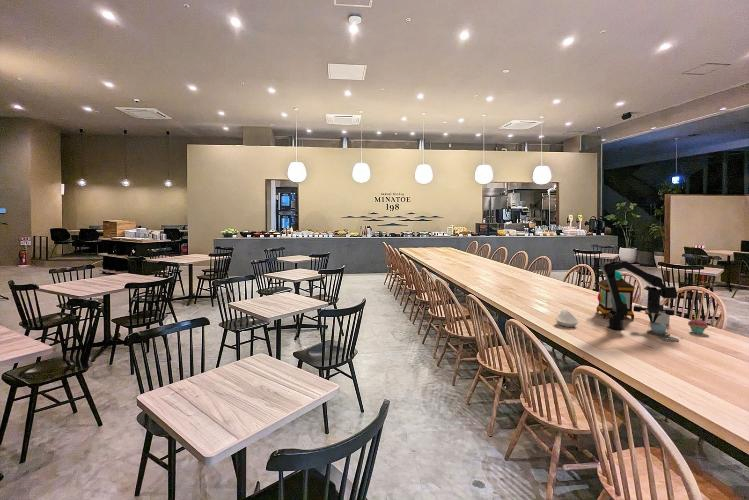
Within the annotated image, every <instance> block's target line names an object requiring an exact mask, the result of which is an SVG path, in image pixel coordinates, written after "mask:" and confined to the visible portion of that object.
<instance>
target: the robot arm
mask: <svg viewBox="0 0 749 500" xmlns="http://www.w3.org/2000/svg"><path fill="white" fill-rule="evenodd" d="M599 267H600V270H601V272H602V274H603V275H604V277H605V279H607V282H608V286H609V289H610V293H611V296H612V300H613V303H612V308H613V309H612V310H611V311H610V312H608V314H609V315H608V316H609V317H608V318H609V320H608V321H609V322H608V326H606V328H608V329H611V330H613V331H621V330H625V328H624V326H623V325H624V319H625V317H626V315H627V314H628V311H629V310H628V308H627V304H626V303H624V302H623V301H622V300H621V297H620V294H619V290H618V287H617V283H616V280H615V271H618V270H622V269H625V270H627V271H628V272H630V273H632V274H634V275H635V276H638V277H640V278H641V279H642V280H643V281H644V282H645V283H647V284H648V285H646V286H645V287H643V290H646V291H647V303H646V304H647V307H642V305H638V304H634V305H633V308H632V311H633V312H635V313H636V312H637V313H641V312H643V311H644V313H645V315H647V316H648V318H649V322H650V321H651V322H650V324H651V323H655V321H656V319H657V317H658V316H661V313H666V314H667V315H670V316H675V310H674V308H671V307H670V308H665V310H664V309H663V307H664V306H665V305H664V304H661V298H662V299H671V300H676V299H677V298H678V291H677V287H676V286H674V285H673V286H672V285H671V286H666V285H665V284H664V283H663V281H664V280H663V279H662V278H661V277H660V276H656V275H654V274H651V273H648V272H646V271H644V270H643V269H641V268H639V267H637V266H635V265H633V264H631V263H630V262H629V261H626V260H623V259H622V260H617V261H610V262H609V261H603V262H602V263H600V266H599ZM663 305H664V306H663ZM627 310H628V311H627ZM652 313H654V318H653V321H652Z"/></svg>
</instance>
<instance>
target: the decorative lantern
mask: <svg viewBox="0 0 749 500" xmlns="http://www.w3.org/2000/svg"><path fill="white" fill-rule="evenodd" d="M615 280H616V283H617V287H618V290H619V294H620V297H621V300H622V301H623V302H624V303H626V304H627V308H628V310H629V311H628V310H627V311H628V314H627V315H626V316H628V317H630V320H631V321H634V319H635V314H634V311H633V302H634V295H633V294H634V291H635V289H636V287H634V285H632V284H631V283H629V282H627V281H626V280H625V279H624V277H623V274H622V273H621V272H620V271H618V270H615ZM597 284H598V287H599V289H598V290H599V293H598V294H597V301H598V305H597V307H596V313H597V312H599V313H601V314H602V318H603V319H604V318H605V319H606V317H607V316H609V314H608V312H610V311H611V310H612V309H613V308H612V303H613V300H612V296H611V293H610V289H609V286H608V282H607V279H606V278H605V279H601V280H599V281H598V282H597ZM626 316H625V317H626Z"/></svg>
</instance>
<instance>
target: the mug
mask: <svg viewBox="0 0 749 500" xmlns="http://www.w3.org/2000/svg"><path fill="white" fill-rule="evenodd" d="M650 325H651V326H650V327H651V328H650V330H651V333H654V334H661V335H665V334H666V332H667V324H662V323H651V322H650Z"/></svg>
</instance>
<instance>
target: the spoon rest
mask: <svg viewBox="0 0 749 500" xmlns="http://www.w3.org/2000/svg"><path fill="white" fill-rule="evenodd" d="M556 322H557V323H558V324H559V325H561V327H564V326H565V327H567V328H572V327H575V326H577V325H578V323H579V321H578V319H577V318H576V317H575V316H574V315H573V314H572V313H571V311H569V310H568V309H561V311H560V313H559V314H558V315H557V316H556Z"/></svg>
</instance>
